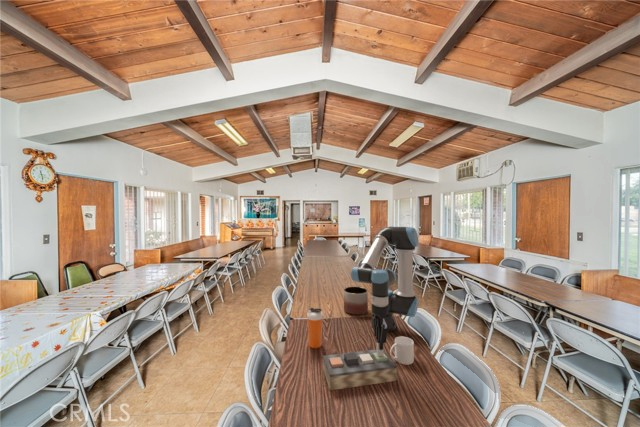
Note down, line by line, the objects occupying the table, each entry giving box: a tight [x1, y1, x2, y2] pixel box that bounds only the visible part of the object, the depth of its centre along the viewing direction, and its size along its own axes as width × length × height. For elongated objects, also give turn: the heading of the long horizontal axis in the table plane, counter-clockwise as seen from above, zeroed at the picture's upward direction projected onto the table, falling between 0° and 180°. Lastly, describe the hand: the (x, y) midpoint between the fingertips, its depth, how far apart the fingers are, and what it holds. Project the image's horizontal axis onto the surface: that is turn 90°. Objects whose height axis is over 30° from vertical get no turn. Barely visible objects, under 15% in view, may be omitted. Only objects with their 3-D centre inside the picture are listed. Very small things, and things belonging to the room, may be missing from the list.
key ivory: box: [359, 354, 373, 364], centre depth 114 cm, size 5×5×4 cm
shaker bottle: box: [306, 307, 324, 349], centre depth 139 cm, size 9×9×20 cm
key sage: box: [373, 353, 388, 362], centre depth 115 cm, size 5×5×4 cm
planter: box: [343, 286, 369, 316], centre depth 186 cm, size 18×18×16 cm
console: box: [322, 348, 398, 391], centre depth 113 cm, size 30×14×6 cm, turn 101°
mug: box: [389, 335, 415, 366], centre depth 125 cm, size 12×9×9 cm
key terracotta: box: [329, 357, 343, 368], centre depth 111 cm, size 5×5×4 cm
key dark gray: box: [344, 351, 358, 366], centre depth 112 cm, size 5×5×4 cm
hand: (380, 355), depth 115 cm, fingers closed
